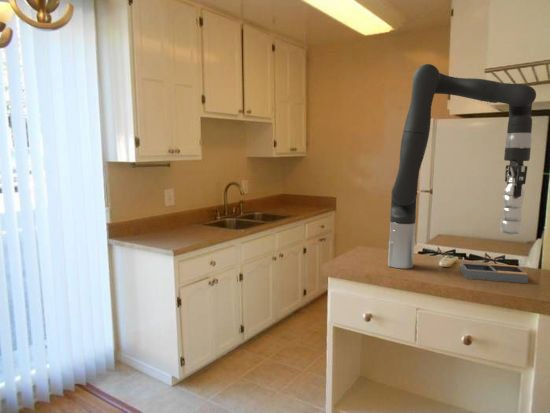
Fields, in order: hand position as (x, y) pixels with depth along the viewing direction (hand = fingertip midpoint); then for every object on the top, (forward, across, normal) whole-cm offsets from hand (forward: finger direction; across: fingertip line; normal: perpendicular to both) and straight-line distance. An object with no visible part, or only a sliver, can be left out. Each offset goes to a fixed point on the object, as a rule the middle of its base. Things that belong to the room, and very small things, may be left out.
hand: (513, 195), depth 136 cm
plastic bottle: (+14, 0, 0) cm, 14 cm away
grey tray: (+29, 0, -5) cm, 30 cm away
